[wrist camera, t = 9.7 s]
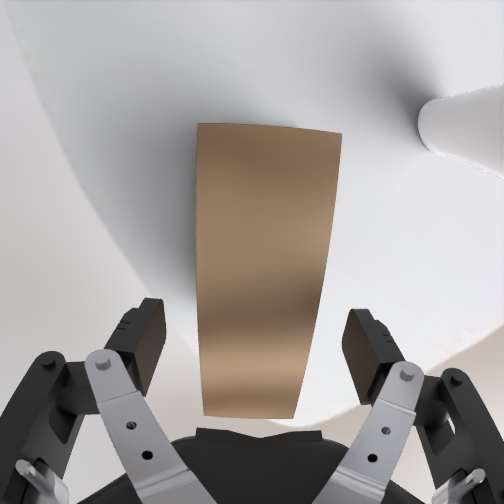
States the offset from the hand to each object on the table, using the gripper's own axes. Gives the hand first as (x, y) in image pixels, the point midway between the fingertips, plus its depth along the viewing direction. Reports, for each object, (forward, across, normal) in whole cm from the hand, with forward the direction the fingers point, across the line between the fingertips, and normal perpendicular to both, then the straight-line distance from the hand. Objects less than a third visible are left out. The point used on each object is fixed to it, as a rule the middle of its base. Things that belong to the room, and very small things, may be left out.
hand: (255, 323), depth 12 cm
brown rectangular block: (+6, 0, 0) cm, 6 cm away
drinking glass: (+14, -16, -11) cm, 24 cm away
